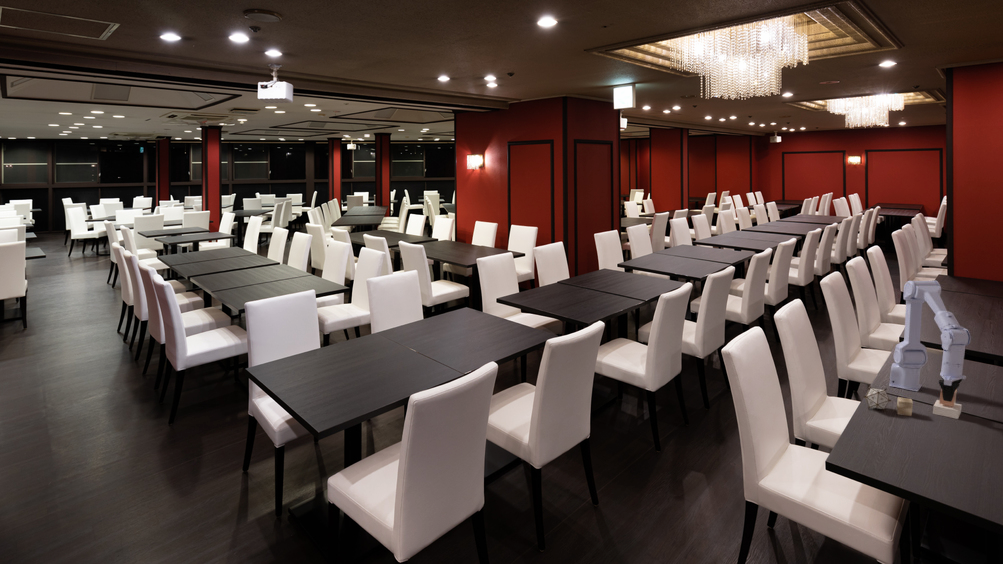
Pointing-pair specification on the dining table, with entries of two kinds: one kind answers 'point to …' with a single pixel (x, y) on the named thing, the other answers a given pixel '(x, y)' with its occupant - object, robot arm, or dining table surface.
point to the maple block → (904, 406)
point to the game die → (877, 398)
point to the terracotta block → (947, 401)
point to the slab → (947, 410)
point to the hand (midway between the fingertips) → (948, 398)
